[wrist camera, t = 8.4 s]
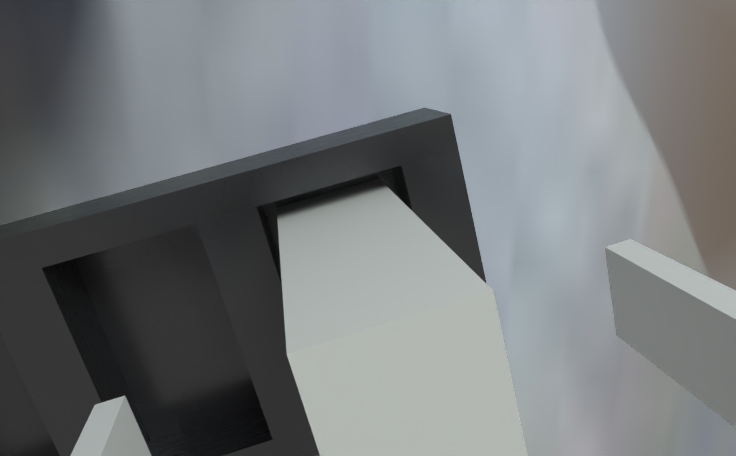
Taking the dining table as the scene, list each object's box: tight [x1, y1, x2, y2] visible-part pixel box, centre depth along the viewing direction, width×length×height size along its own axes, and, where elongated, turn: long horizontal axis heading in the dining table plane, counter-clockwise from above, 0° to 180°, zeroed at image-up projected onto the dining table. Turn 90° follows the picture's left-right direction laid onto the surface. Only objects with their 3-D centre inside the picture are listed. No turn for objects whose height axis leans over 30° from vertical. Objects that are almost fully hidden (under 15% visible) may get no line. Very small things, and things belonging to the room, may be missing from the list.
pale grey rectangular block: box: [277, 178, 527, 456], centre depth 18 cm, size 7×4×12 cm, turn 14°
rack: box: [0, 108, 486, 456], centre depth 22 cm, size 11×23×4 cm, turn 104°
